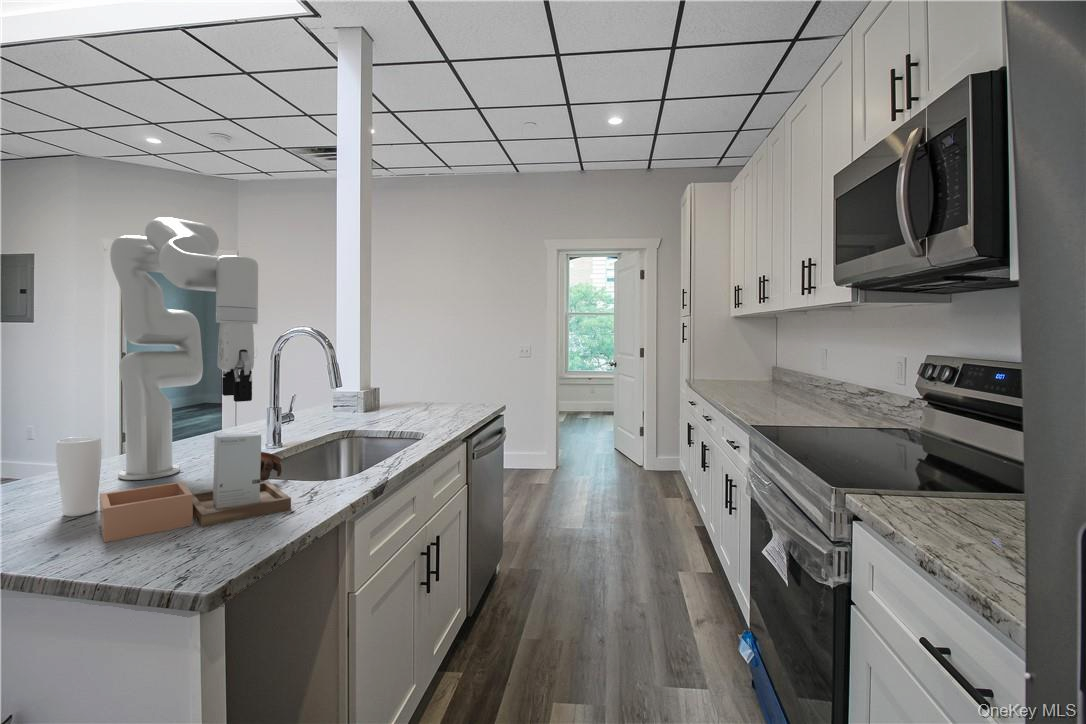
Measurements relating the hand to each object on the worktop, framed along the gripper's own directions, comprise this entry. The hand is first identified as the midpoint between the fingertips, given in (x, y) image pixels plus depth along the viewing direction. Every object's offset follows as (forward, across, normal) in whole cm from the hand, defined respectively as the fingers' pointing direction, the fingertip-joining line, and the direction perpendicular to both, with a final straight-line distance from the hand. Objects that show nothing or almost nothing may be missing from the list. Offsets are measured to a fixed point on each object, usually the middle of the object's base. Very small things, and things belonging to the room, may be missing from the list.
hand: (236, 398), depth 108 cm
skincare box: (+23, +1, 0) cm, 23 cm away
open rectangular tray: (+23, +1, -15) cm, 28 cm away
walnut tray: (+23, +1, 0) cm, 23 cm away
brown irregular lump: (+24, -18, +10) cm, 32 cm away
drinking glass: (+24, -15, -24) cm, 37 cm away
